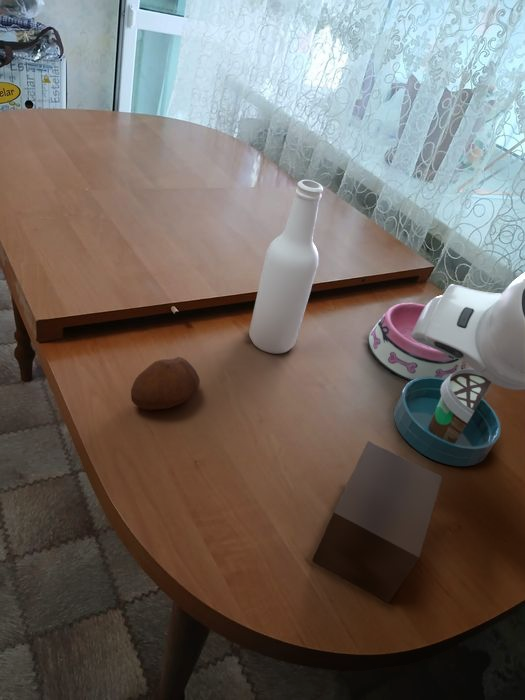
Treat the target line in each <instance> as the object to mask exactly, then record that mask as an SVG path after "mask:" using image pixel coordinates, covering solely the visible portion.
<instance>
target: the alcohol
mask: <svg viewBox="0 0 525 700" xmlns="http://www.w3.org/2000/svg"><path fill="white" fill-rule="evenodd" d="M296 186H297V188H296V189H295V195H294V199H293V202H292V205H291V207H290V211H289V215H288V218H287V220H286V224H285V226H284V229H283V232H282V233H281V234H280V235H278V236H277V237H276V238H275V239H273V240H272V241H271V242H270V244H269V246H268V248H267V250H266V252H265V257H264V262H263V265H262V269H261V270H262V271H261V275H260V279H259V284H258V289H257V293H256V299H255V303H254V307H253V311H252V317H251V321H250V325H249V330H248V335H249V338H250V339H251V342H252V344H253V345H254V346H255V347H256V348H257V349H259V350H261V351H263V352H266V353H270V354H283V353H286V352H288V351H290V350H291V349H293V348H294V347H295V345H296V343H297V339H298V336H299V333H300V330H301V326H302V323H303V319H304V316H305V311H306V308H307V305H308V301H309V298H310V295H311V291H312V286H313V284H314V281H315V277H316V274H317V270H318V268H319V252H318V249H317V247H316V245H315V243H314V232H315V228H316V222H317V215H318V211H319V205H320V200H321V198H322V197H323V196H322V193H323V191H324V187H323V186H322V184H321V183H319V182H317V181H315V180H311V179H302V180H299V181H297V183H296Z"/></svg>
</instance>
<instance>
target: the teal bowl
mask: <svg viewBox="0 0 525 700" xmlns="http://www.w3.org/2000/svg"><path fill="white" fill-rule="evenodd" d="M445 380H446V379H444V378H438V377H420V378H417V379H414V380H412V381H408V383H407V384H405V385H404V388H403V389H402V392H401V393H400V396H399V398H398V400H397V402H396V404H395V407H394V410H393V420H394V423H395V426H396V428H397V430H398V432H399V433H400V435H401V436H402V438H403V439H404V440H405V441H406V442H407V443H408V444H409V445H410V446H411V447H412V448H413V449H414V450H416V451H417V452H419V453H420V454H422V455H423V456H425V457H427V458H428V459H430V460H432V461H435V462H437V463H441V464H444V465H447V466H453V467H469V466H475V465H477V464H479V463H481V462H483V461H484V460H485V459H486V458H487V456H488V455H489V453H490V452H491V450H492V449H493V448H494V446H495V444H496V443H497V442H498V440H499V438H500V436H501V431H502V428H501V427H502V426H501V421H500V418H499V416H498V414H497V413H496V411H495V410H494V409H493V407H492V406H491V405H490V404H489V403H488V401H486V399H484V397H483V398H482V399H481V401H480V403H479V404H478V406H477V408H476V409H475V411H474V413H473V415H472V416H471V418H470V420H469V421H468V423H467V425H466V426H465V428H464V430H463V431H462V433H461V435H460V436H459V438H458V440H457V441H456V443H455V444H454V443H451V442H448V441H446V440H443V439H441V438H439V437H437V436H435V435H434V434H432V433H431V432H430V431H429V424H430V422H431V419H432V417H433V415H434V412H435V410H436V408H437V405H438V403H439V401H440V398H441V390H440V389H441V385H442V383H443V382H444V381H445Z"/></svg>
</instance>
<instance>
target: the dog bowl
mask: <svg viewBox="0 0 525 700" xmlns="http://www.w3.org/2000/svg"><path fill="white" fill-rule="evenodd" d="M426 305H427V304H426ZM426 305H425V304H421V303H415V302H402V303H398V304H395V305H392V306H391V307H390V308H389V309H388V310H387V311H386V312H385V313H384V314H382V316H381V318H380V319H379V321H378V322H377V323H376V324H375V326H374V327H373V328H372V330H371V331H370V332H369V334H368V337H367V345H368V350H369V351H370V353H371V354H372V356H373V357H374V359H375V360H376V361H377V362H378V363H379V364H380V365H381V366H382V367H383V368H385V369H386V370H387V371H389V372H390V373H392V374H393V375H394V376H397V377H400V378H401V379H403V380H406V381H408V382H410V381H412V380H414V379H417V378H420V377H438V378H444V379H447V378H448V377H449V376H450V375H451V374H452V373H454V372H456V371H458V370H461V369H462V366H463V365H462V364H463V361H462V360H460V359H457V358H456V359H452V358H450V357H448V356H445V355H444V354H445V353H443V352H441V351H439V350H437V349H434V348H432V347H430V346H427V345H425V344H423V343H420V342H418V341H416V340H414V339H413V338H412V337H411V334H412V331H413V329H414V327H415V325H416V323H417V321H418V319H419V317H420V315H421V313H422V311H423V309H424V307H425V306H426Z"/></svg>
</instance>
